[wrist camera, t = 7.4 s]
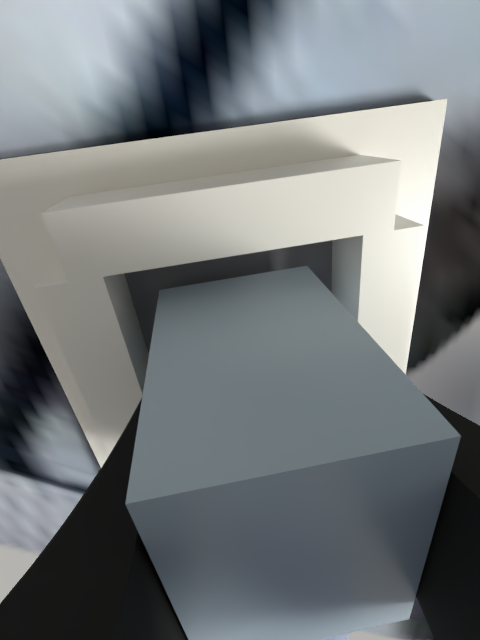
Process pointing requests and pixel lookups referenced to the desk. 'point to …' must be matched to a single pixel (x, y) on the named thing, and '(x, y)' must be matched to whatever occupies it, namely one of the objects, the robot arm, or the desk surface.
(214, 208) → the socket plate
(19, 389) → the desk surface
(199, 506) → the plug block
